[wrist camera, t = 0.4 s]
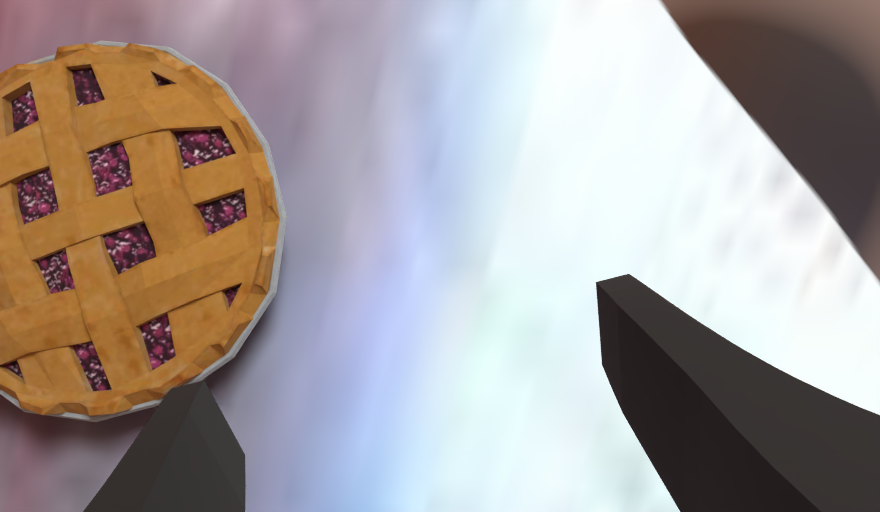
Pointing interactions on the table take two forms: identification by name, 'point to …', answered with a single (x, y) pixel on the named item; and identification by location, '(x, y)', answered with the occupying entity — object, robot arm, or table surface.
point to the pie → (128, 228)
